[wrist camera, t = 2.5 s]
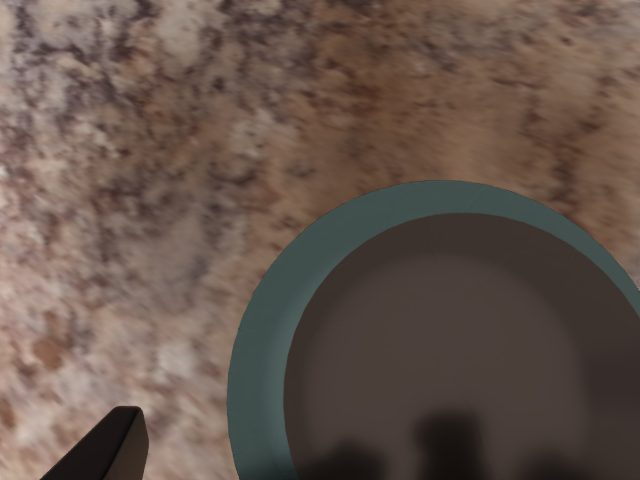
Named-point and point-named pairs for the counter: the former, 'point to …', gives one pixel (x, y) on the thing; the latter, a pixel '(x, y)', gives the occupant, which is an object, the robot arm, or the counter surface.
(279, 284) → the bottle
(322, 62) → the counter surface
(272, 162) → the counter surface
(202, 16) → the counter surface
